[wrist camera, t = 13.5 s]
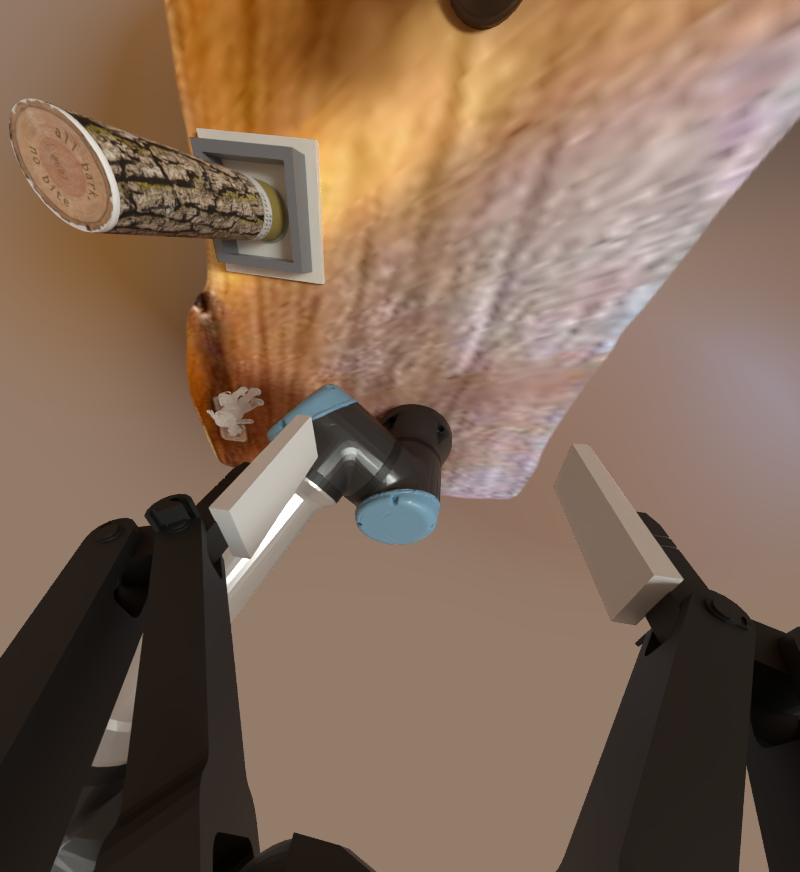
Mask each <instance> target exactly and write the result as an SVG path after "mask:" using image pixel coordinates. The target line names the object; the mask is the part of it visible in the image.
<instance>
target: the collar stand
mask: <svg viewBox="0 0 800 872" xmlns="http://www.w3.org/2000/svg"><path fill="white" fill-rule="evenodd" d="M196 129H197V134H198V138H197V137H190V141H191V145H192V150H193V154H194V156H196V157H199V158H201V159H204V160H207V161H210V162H212V163H215V164H218V165H221V166H223V167H226V168H229V169H232V170H234V171H237V172H240V173H243V174H245V175H248V176H250V177H253V178H256V179H258V180H261V181H264V182H266V183H267V184H269V185H270V186H271V187H272V188H273V189H274V190H275V191H276V192H277V194H278V195H279V197H280V199H281V201H282V203H283V206H284V210H285V218H286V219H285V227H284V230H283V232H282V234H281V235H280V236H279V237H278V238H277V239H275V240H272V241H249V240H229V239H213V243H214V247H215V252H216V256H217V261H218V262H221V263H225V265H226V270H227V271H231V272H238V273H245V274H252V275H259V276H267V277H274V278H281V279H288V280H295V281H303V282H310V283H317V284H325V278H324V255H323V232H322V209H321V186H320V163H319V142H318V141H316V140H314V139H303V138H293V137H283V136H273V135H262V134H252V133H242V132H232V131H221V130H211V129H201V128H196Z"/></svg>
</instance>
